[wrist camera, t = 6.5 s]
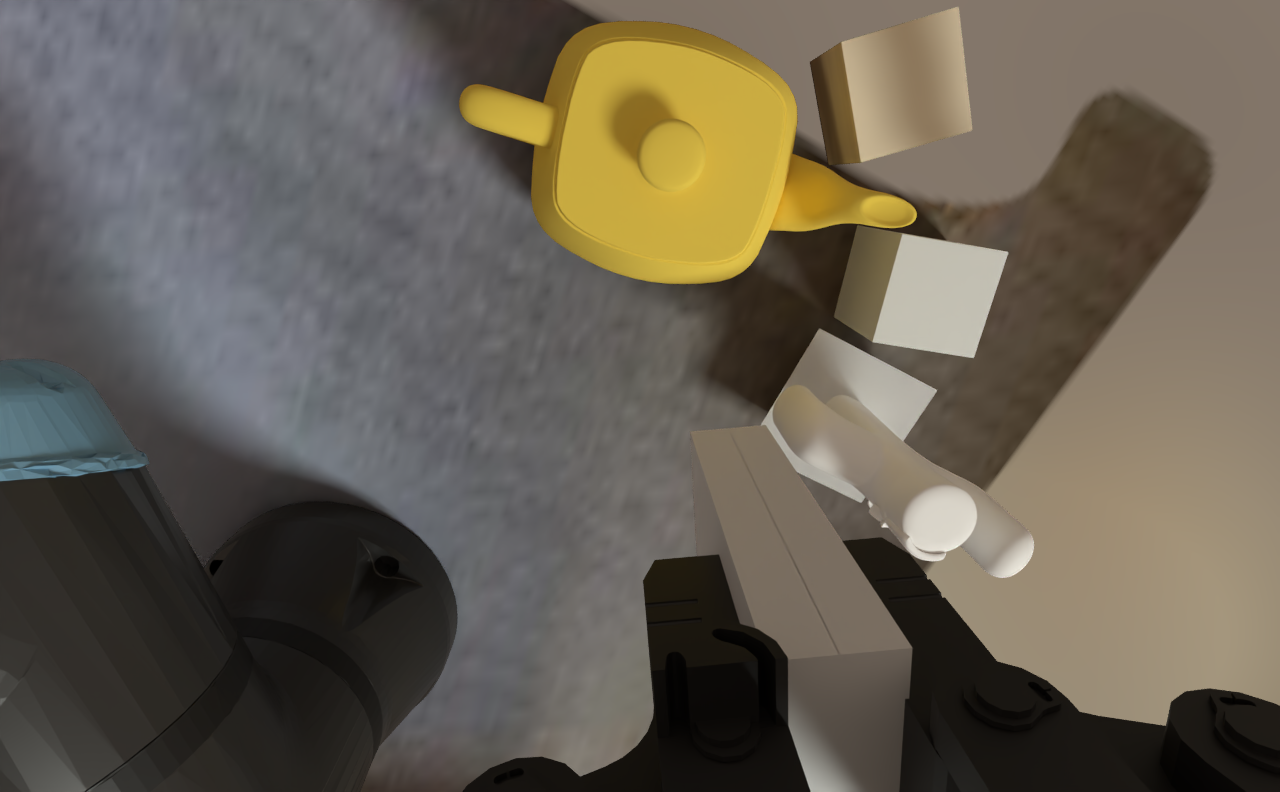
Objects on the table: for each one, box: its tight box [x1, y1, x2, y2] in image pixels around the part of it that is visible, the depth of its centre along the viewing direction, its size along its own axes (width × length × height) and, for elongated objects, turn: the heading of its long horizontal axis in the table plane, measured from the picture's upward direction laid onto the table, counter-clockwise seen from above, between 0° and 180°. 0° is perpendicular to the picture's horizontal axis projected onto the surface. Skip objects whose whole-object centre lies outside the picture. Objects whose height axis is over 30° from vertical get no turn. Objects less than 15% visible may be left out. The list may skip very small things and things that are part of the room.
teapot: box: [459, 21, 917, 284], centre depth 29 cm, size 18×11×11 cm, turn 76°
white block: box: [834, 225, 1008, 358], centre depth 33 cm, size 5×5×6 cm
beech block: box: [810, 7, 972, 165], centre depth 31 cm, size 5×5×5 cm
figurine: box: [761, 328, 1034, 578], centre depth 31 cm, size 7×9×15 cm
